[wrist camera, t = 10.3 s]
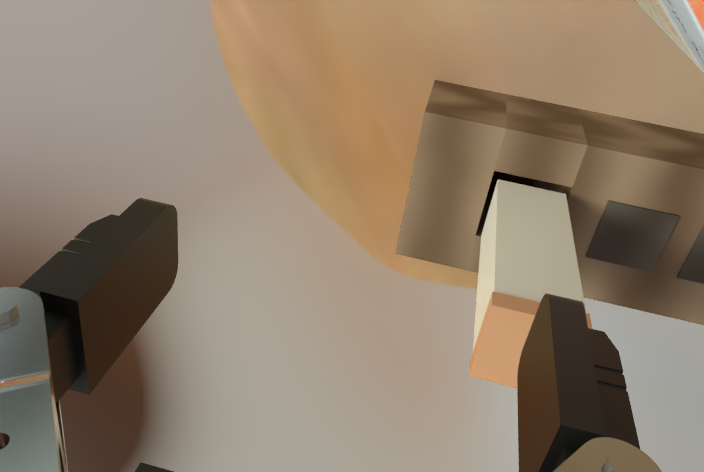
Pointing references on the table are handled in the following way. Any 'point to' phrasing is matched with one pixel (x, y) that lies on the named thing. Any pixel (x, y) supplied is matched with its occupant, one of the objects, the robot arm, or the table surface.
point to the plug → (520, 274)
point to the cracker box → (680, 24)
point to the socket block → (573, 180)
